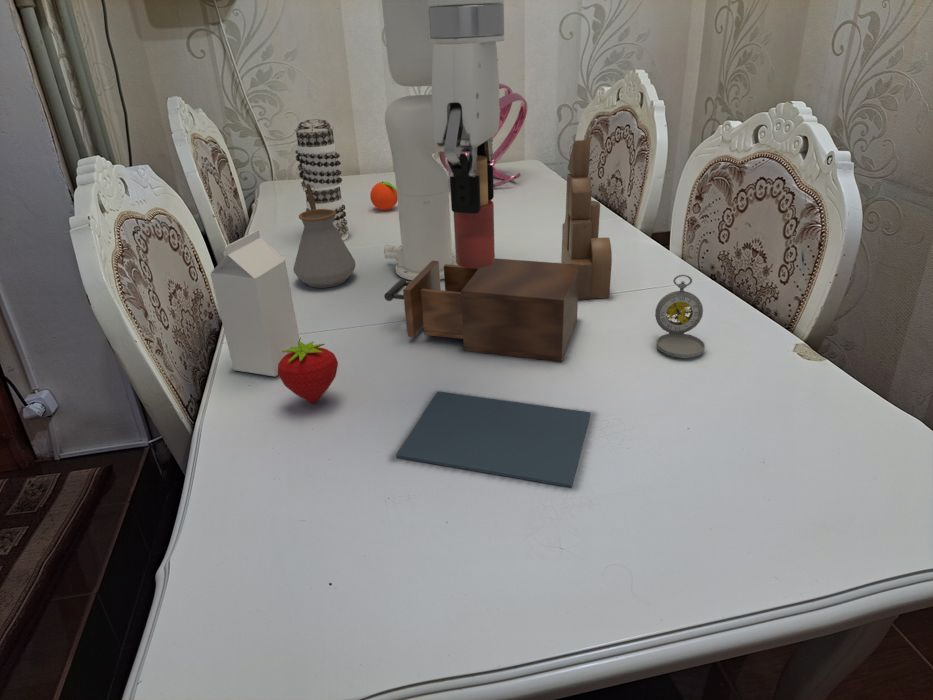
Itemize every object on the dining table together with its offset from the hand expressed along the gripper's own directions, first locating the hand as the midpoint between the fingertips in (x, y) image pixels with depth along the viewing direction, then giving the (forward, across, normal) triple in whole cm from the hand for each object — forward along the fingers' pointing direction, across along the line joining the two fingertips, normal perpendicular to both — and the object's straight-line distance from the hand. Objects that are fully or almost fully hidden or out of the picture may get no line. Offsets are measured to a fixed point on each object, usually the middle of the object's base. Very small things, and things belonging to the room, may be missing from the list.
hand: (473, 203), depth 73 cm
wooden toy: (+25, -40, +8) cm, 48 cm away
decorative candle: (+25, -54, -51) cm, 79 cm away
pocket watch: (+25, -19, +25) cm, 40 cm away
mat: (+25, +9, +5) cm, 27 cm away
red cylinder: (+7, 0, 0) cm, 7 cm away
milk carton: (+25, 0, -32) cm, 41 cm away
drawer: (+24, -17, -10) cm, 31 cm away
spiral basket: (+24, -108, -31) cm, 115 cm away
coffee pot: (+25, -35, -42) cm, 61 cm away
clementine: (+24, -77, -47) cm, 94 cm away
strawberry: (+25, +8, -20) cm, 33 cm away
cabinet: (+25, -17, +2) cm, 30 cm away
